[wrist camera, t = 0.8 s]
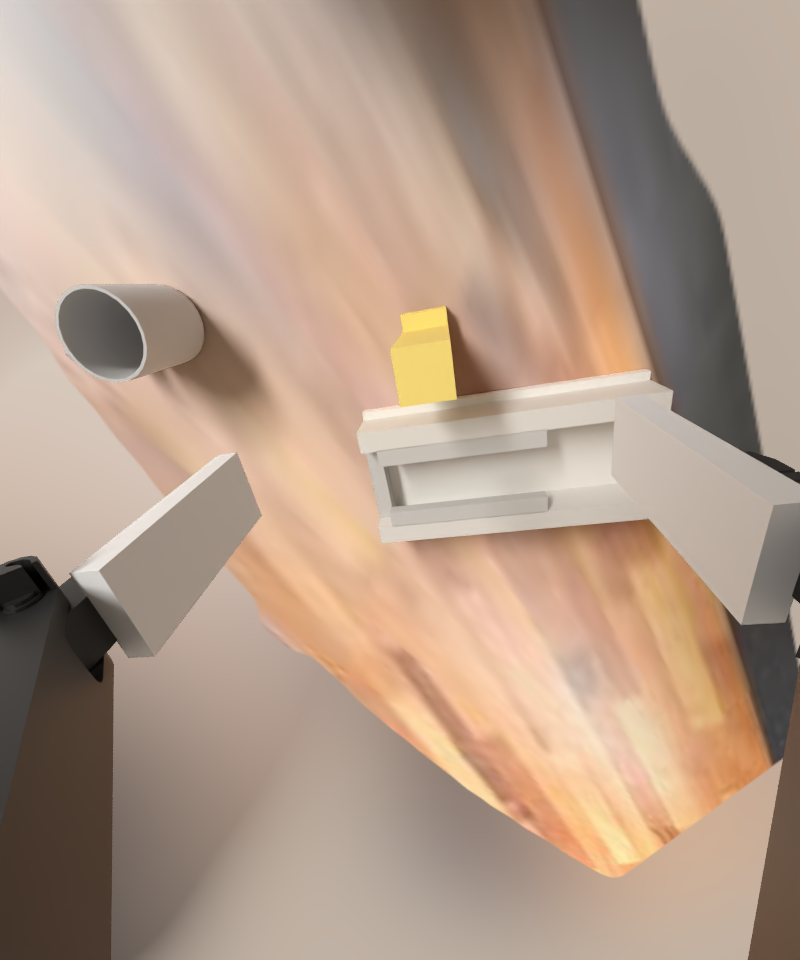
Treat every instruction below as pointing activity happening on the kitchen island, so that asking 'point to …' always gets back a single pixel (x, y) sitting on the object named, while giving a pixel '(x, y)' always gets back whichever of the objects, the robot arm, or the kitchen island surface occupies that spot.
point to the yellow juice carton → (424, 359)
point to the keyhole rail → (502, 459)
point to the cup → (128, 329)
